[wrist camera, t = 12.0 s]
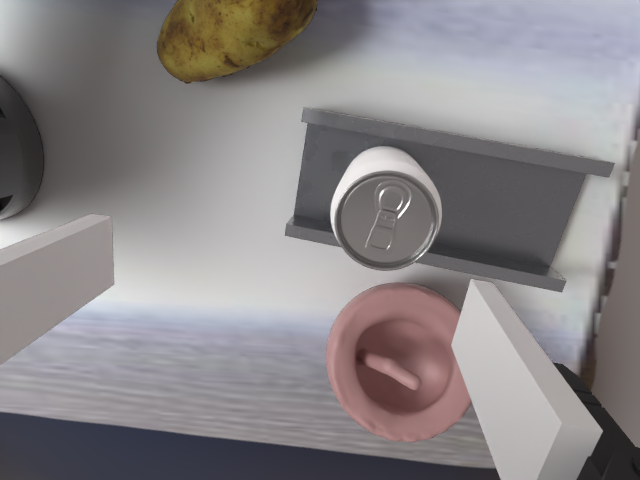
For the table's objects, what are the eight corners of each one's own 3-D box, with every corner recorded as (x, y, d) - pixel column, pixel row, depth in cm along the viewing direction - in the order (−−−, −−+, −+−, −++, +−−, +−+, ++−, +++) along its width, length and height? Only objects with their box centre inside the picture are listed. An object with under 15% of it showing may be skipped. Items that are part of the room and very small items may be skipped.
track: (294, 222, 36) (284, 235, 32) (311, 108, 32) (303, 107, 29) (541, 272, 34) (561, 292, 30) (585, 157, 31) (614, 163, 27)
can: (432, 155, 31) (464, 178, 20) (409, 230, 33) (427, 290, 22) (353, 137, 32) (340, 149, 20) (336, 212, 34) (315, 262, 22)
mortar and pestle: (485, 289, 35) (534, 367, 24) (429, 391, 39) (450, 496, 28) (360, 242, 35) (353, 299, 25) (317, 348, 39) (295, 436, 28)
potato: (163, -25, 31) (95, -70, 23) (325, -46, 29) (307, -103, 21) (181, 88, 33) (124, 80, 26) (331, 75, 31) (317, 62, 24)
